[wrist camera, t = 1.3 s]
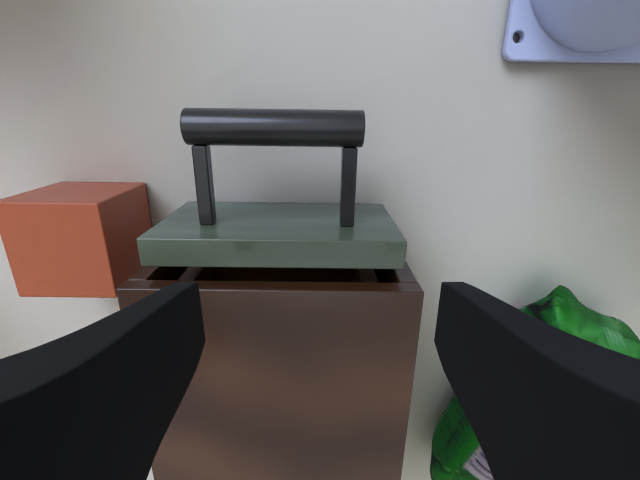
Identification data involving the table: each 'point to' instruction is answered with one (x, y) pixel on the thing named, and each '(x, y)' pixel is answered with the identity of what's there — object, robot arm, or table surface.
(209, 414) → the cabinet
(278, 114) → the drawer
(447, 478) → the snack package
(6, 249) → the block
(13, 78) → the table surface
